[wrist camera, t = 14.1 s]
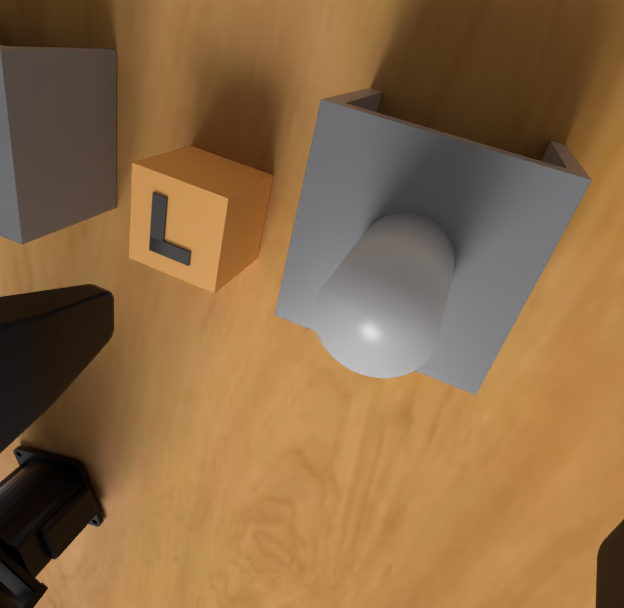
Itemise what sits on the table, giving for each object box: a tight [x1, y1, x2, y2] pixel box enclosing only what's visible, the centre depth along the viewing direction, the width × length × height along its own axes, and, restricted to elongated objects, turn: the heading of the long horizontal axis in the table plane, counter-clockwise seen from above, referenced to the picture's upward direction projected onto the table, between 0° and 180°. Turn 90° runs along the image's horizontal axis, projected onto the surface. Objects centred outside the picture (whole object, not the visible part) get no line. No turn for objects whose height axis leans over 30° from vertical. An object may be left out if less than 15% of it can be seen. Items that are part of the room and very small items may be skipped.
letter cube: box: [129, 146, 274, 293], centre depth 20 cm, size 4×4×4 cm
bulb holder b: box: [275, 88, 592, 395], centre depth 14 cm, size 7×7×10 cm
